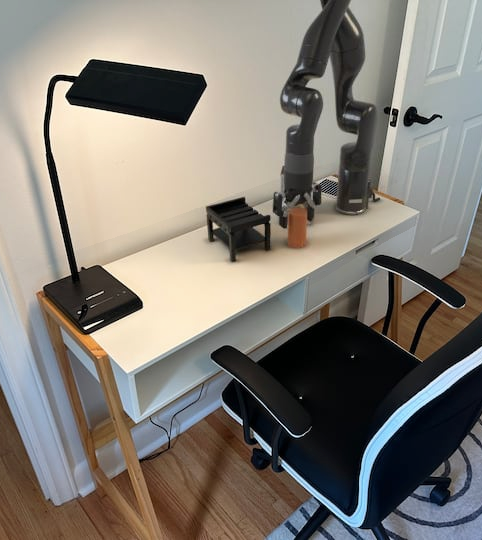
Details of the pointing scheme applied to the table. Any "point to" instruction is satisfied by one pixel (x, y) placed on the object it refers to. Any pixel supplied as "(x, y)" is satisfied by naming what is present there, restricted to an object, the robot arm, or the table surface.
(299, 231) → the orange-brown cylinder
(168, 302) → the table surface
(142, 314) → the table surface
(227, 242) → the rack
